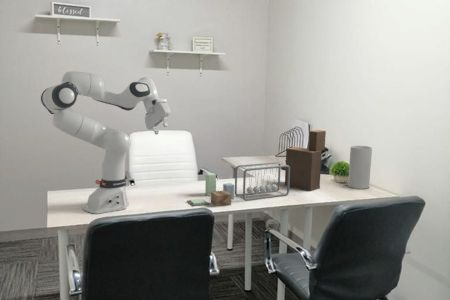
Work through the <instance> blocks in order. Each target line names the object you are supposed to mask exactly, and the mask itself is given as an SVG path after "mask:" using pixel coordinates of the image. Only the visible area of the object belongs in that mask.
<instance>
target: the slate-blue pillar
mask: <svg viewBox="0 0 450 300" xmlns="http://www.w3.org/2000/svg"><path fill="white" fill-rule="evenodd" d="M222 191H227V192H228V193H230V194H231V201H232V200H235V184H233V183H232V182H229V183H223V185H222Z"/></svg>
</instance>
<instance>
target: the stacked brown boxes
mask: <svg viewBox="0 0 450 300" xmlns="http://www.w3.org/2000/svg"><path fill="white" fill-rule="evenodd" d="M326 132H327V131H326V130H321V129H316V130H309V133H308V147H307V148H305V147H300V146H299V147H298V146H292V147H288V148H286V150H285V151H286V152H285V165H288V166H289V167H290V182H289V188H290V187H291V188H295V189H300V190H304V191H306V192H307V191H308V192H314V191H317V190H319V189H321V185H320V184H321V170H322V154H323V153H322V152H323V151H325V150H326ZM284 171H285V172H284V174H285V175H284V186H286V187H287V182H288V167H285V169H284Z"/></svg>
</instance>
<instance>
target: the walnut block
mask: <svg viewBox="0 0 450 300" xmlns="http://www.w3.org/2000/svg"><path fill="white" fill-rule="evenodd" d="M210 203H211V204H212V205H213V206H215V207H216V206H217V207H227V206H232V200H231V194H230V193H228V192H227V191H223V190H216V191H215V192H211V196H210Z"/></svg>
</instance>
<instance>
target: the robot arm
mask: <svg viewBox="0 0 450 300" xmlns="http://www.w3.org/2000/svg"><path fill="white" fill-rule="evenodd" d="M78 96H82V97H89V98H91V99H92V100H94V101H97V102H100V103H104V104H107V105H110V106H114V107H115V106H116V107H117V108H120V109H122V110H124V111H132V110H134V108H136V106H137V105H138V103H140V102H143V105H144V108H145V111H146V113H145V116H144V123H145V127H146V129H147V130H148V131H151V130H152V131H153V133H154V135H155V136H156V135H158V134H160V130H159V129H158V128H157V127H158V126H159V125H160V124H161V123H162V122H163V124H162V126H163V127H164V128H167V127H168V126H169V124H168V117H169V116H170V115H171V108H170V105H169V103H168V100H167V98H160V96H159V93H158V89H157V87H156V84H155V81H154V80H153V79H152V78H150V77H146V76H145V77H141V78H139V79H138V80H137V81H132V82H131V83H129V85H128V86H126V88H125V89H124V90H123V91H122V92H120V93H115V92H111V91H107V90H106V89H105V82H104V80H103V79H102V77H101V76H99V75H98V74H95V73H91V72H90V73H89V72H86V71H85V72H84V71H75V70H73V71H67V72H65V73H64V74H63V75H62V77H61V83H60V84H57V85H53V86H49V87H47V88H46V89H45V90H43V92H42V93H41V95H40V102H41V104H42V106H43V107H44V108H45V109H46V110H47V111H48V113H50V114H51V115H53V116H52V124H53V126H54V127H55V128H56V129H58V130H60V131H62V132H63V133H65V134H67V135H69V136H72V137H74V138H77V139H79V140H82V141H83V142H86V143H89V144H91V145H92V146H93V145H94V146H95V147H97V148H101V149H103V150H105V154H104V159H103V161H102V162H101V163H102V164H101V170H102V171H101V173H102V174H101V175H102V178H101V180H99V179H96V180H95V181H94V182H95V184H96V185H99V186H98V187H97V188H96V189H95V190H94V191H92V193H91V194H90V195H89V196H88V198H87V204H85V205H83V206H82V209H83V211H85V212H87V213H90V214H96V215H98V214H99V215H100V214H104V213H109V212H115V211H123V210H126V209H127V207H128V206H129V205H130V203H129V201H128V197H127V196H128V195H127V189H126V187H127V178H126V158H127V154H128V150H129V149H130V148H131V145H132V140H131V138H130V137H129V135H128V134H126V133H125V132H124V131H122V130H118V129H115V128H111V127H109V126H106V125H105V124H103V123H101V122H99V121H97V120H95V119H94V118H91V117H89V116H86V115H84V114H82V113H79V112H78V111H76V110H74V109H73V108H72V106H74V105H75V103H76V101H77V97H78Z"/></svg>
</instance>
